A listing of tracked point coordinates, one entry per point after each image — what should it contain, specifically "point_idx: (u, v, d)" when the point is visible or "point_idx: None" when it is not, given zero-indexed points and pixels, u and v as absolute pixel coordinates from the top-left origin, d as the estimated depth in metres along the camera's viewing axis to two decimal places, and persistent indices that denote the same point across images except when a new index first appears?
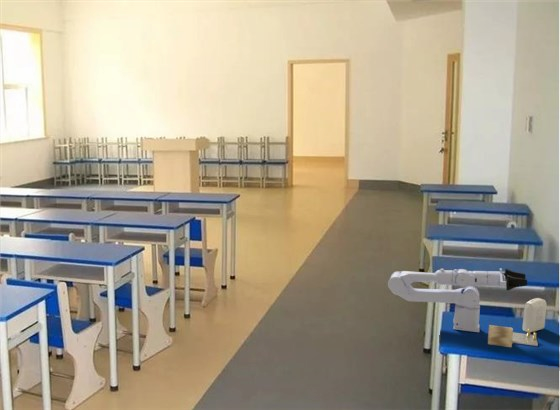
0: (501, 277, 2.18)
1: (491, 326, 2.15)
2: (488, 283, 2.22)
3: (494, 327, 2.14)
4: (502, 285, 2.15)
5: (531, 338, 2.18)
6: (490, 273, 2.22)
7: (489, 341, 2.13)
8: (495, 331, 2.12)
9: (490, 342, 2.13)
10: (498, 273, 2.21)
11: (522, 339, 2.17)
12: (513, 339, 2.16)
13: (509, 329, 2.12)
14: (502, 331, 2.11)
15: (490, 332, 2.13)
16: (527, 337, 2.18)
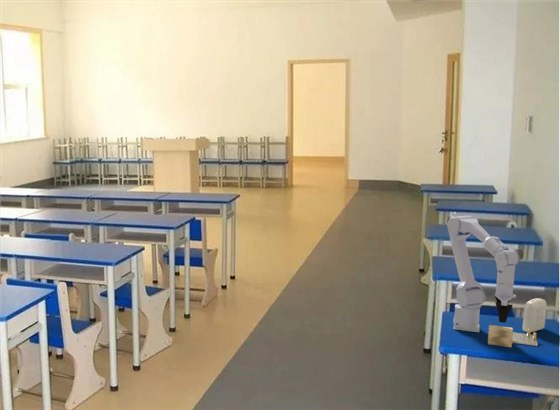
0: (509, 299, 2.07)
1: (491, 326, 2.15)
2: (501, 284, 2.08)
3: (494, 327, 2.14)
4: (503, 301, 2.05)
5: (531, 338, 2.18)
6: (512, 287, 2.09)
7: (489, 341, 2.13)
8: (495, 331, 2.12)
9: (490, 342, 2.13)
10: (511, 294, 2.09)
11: (522, 339, 2.17)
12: (513, 339, 2.16)
13: (509, 329, 2.12)
14: (502, 331, 2.11)
15: (490, 332, 2.13)
16: (527, 337, 2.18)
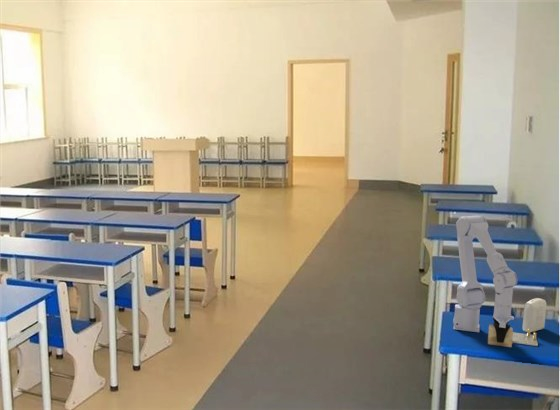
0: (507, 321, 2.08)
1: (491, 326, 2.15)
2: (499, 306, 2.10)
3: (494, 327, 2.14)
4: (501, 324, 2.06)
5: (531, 338, 2.18)
6: (510, 308, 2.10)
7: (489, 341, 2.13)
8: (495, 331, 2.12)
9: (490, 342, 2.13)
10: (509, 316, 2.10)
11: (522, 339, 2.17)
12: (513, 339, 2.16)
13: (509, 329, 2.12)
14: None
15: (490, 332, 2.13)
16: (527, 337, 2.18)
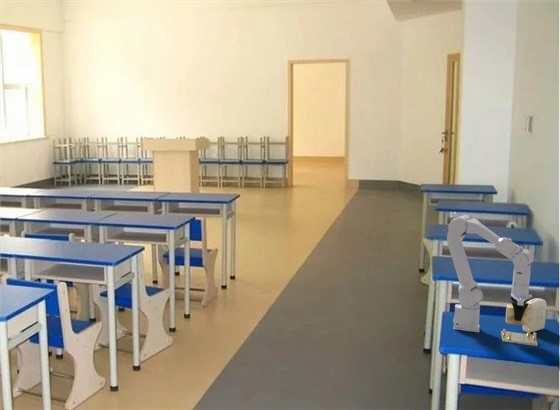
0: (525, 299, 2.11)
1: (509, 305, 2.17)
2: (517, 285, 2.12)
3: (512, 306, 2.16)
4: (519, 301, 2.08)
5: (531, 338, 2.18)
6: (528, 287, 2.12)
7: (507, 320, 2.16)
8: (513, 310, 2.15)
9: (508, 321, 2.16)
10: (527, 294, 2.13)
11: (522, 339, 2.17)
12: (513, 339, 2.16)
13: (527, 308, 2.15)
14: None
15: (508, 311, 2.15)
16: (527, 337, 2.18)
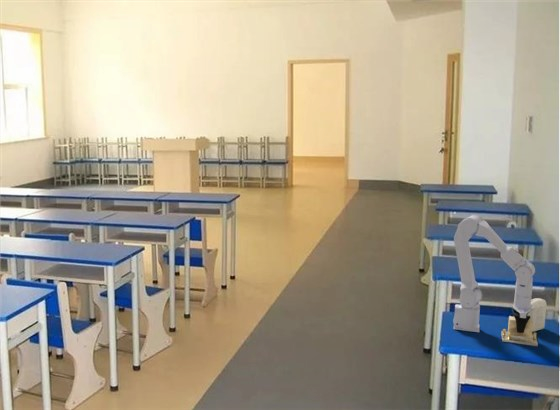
0: (527, 311, 2.12)
1: (511, 317, 2.19)
2: (520, 297, 2.14)
3: (514, 318, 2.18)
4: (522, 314, 2.10)
5: (531, 338, 2.18)
6: (530, 299, 2.14)
7: None
8: None
9: None
10: (529, 307, 2.15)
11: (522, 339, 2.17)
12: (513, 339, 2.16)
13: (529, 320, 2.16)
14: None
15: (510, 323, 2.17)
16: None
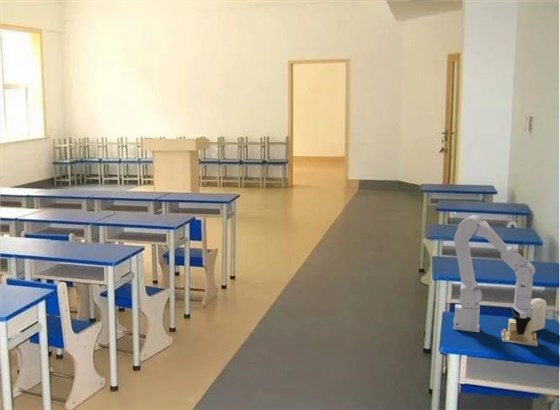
0: (527, 312, 2.12)
1: (511, 320, 2.19)
2: (520, 297, 2.14)
3: (514, 321, 2.18)
4: (522, 314, 2.10)
5: None
6: (530, 300, 2.14)
7: None
8: (515, 325, 2.16)
9: None
10: (529, 307, 2.15)
11: None
12: (513, 339, 2.16)
13: (529, 323, 2.17)
14: None
15: (510, 326, 2.17)
16: None
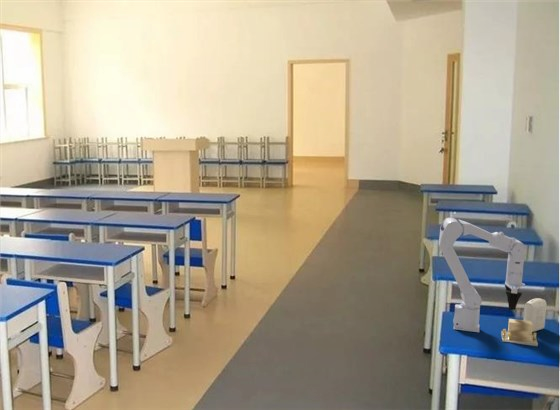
0: (519, 287, 2.20)
1: (511, 320, 2.19)
2: (511, 273, 2.21)
3: (514, 321, 2.18)
4: (513, 289, 2.17)
5: None
6: (521, 276, 2.21)
7: None
8: (515, 325, 2.16)
9: None
10: (520, 283, 2.22)
11: None
12: (513, 339, 2.16)
13: (529, 323, 2.17)
14: (522, 325, 2.16)
15: (510, 326, 2.17)
16: None
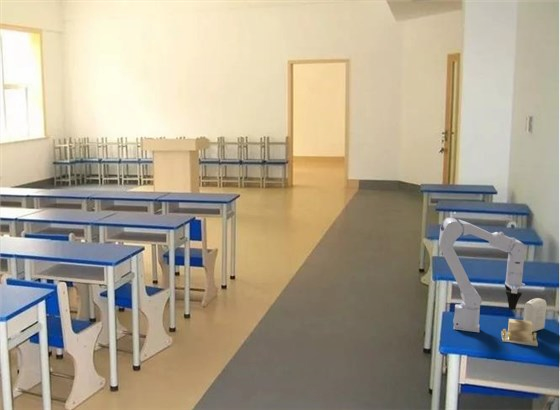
0: (519, 287, 2.20)
1: (511, 320, 2.19)
2: (511, 273, 2.21)
3: (514, 321, 2.18)
4: (513, 289, 2.17)
5: None
6: (521, 276, 2.21)
7: None
8: (515, 325, 2.16)
9: None
10: (520, 283, 2.22)
11: None
12: (513, 339, 2.16)
13: (529, 323, 2.17)
14: (522, 325, 2.16)
15: (510, 326, 2.17)
16: None
